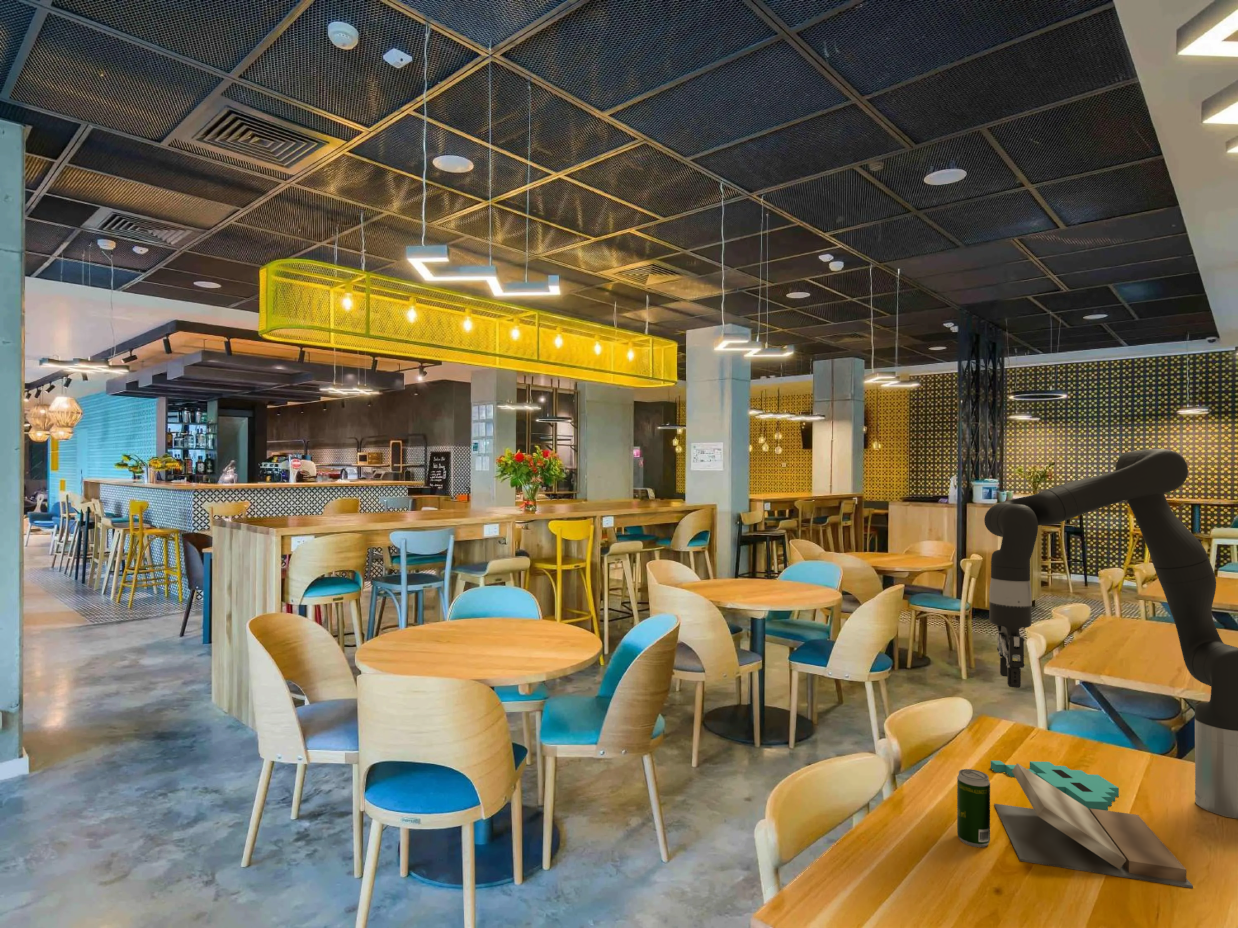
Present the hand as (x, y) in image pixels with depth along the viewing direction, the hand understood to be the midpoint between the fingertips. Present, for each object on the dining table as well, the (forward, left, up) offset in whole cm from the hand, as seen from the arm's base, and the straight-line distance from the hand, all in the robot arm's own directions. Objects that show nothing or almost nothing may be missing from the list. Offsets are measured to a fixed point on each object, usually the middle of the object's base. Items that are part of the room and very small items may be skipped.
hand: (1009, 681), depth 143 cm
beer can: (+9, +17, -25) cm, 32 cm away
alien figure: (-13, -14, -26) cm, 32 cm away
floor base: (-10, +11, -25) cm, 29 cm away
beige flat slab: (-6, +12, -21) cm, 25 cm away
